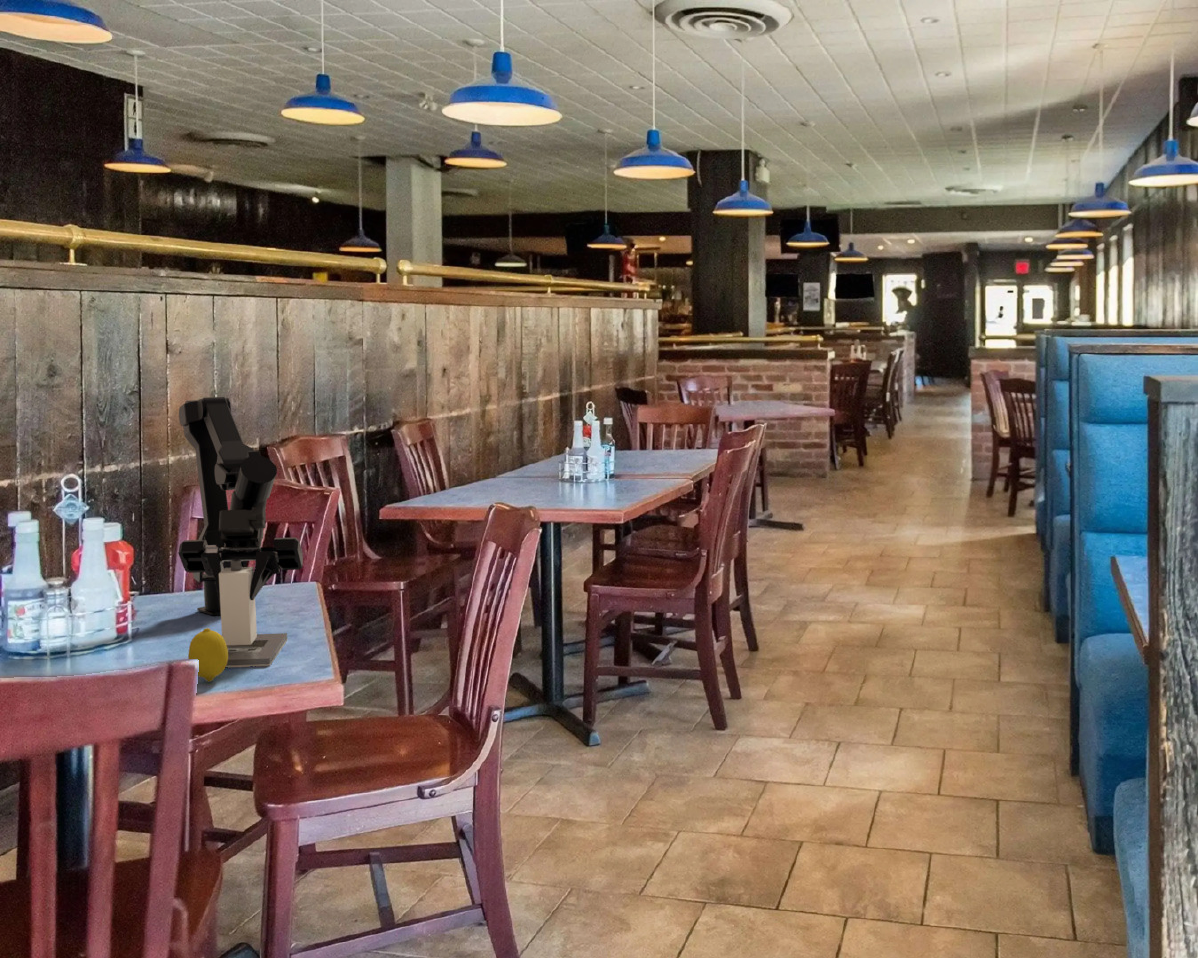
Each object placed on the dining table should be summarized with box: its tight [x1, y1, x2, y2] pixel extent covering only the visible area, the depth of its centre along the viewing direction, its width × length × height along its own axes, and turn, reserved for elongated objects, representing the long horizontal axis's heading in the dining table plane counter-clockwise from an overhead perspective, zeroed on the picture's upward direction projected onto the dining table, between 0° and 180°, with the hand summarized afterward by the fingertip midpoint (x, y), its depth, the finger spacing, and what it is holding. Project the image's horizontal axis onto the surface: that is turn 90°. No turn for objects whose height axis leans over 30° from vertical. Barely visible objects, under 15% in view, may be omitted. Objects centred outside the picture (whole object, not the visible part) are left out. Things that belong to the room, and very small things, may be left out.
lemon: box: [187, 627, 228, 683], centre depth 181 cm, size 6×6×8 cm
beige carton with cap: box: [219, 560, 258, 645], centre depth 196 cm, size 5×4×13 cm
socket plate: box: [220, 632, 288, 668], centre depth 197 cm, size 16×12×1 cm
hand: (235, 599), depth 194 cm, fingers closed on beige carton with cap, 4 cm apart
